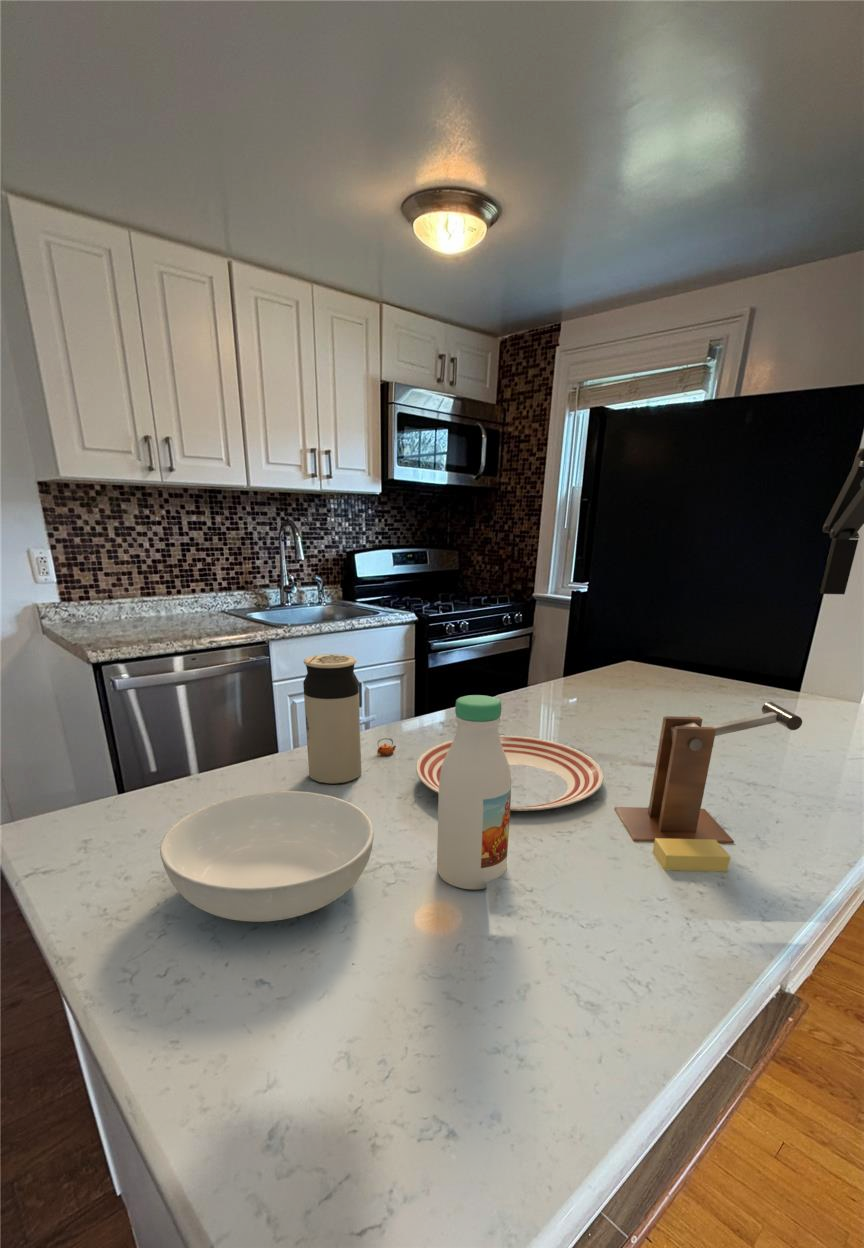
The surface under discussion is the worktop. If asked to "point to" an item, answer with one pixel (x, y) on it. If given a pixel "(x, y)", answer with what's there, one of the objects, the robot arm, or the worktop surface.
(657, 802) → the brown lever stand
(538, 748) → the dinner plate
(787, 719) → the metal lever handle
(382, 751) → the teapot
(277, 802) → the serving bowl
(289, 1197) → the worktop surface
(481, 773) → the milk bottle
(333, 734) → the travel mug
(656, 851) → the butter
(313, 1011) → the worktop surface
